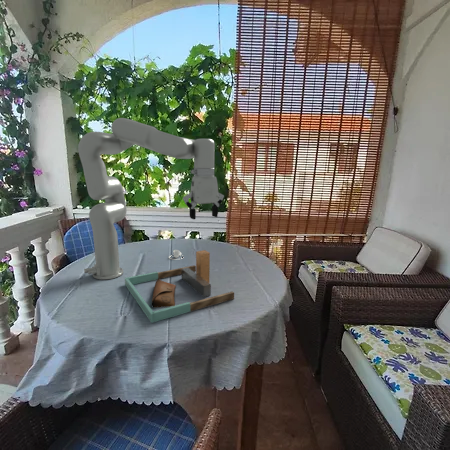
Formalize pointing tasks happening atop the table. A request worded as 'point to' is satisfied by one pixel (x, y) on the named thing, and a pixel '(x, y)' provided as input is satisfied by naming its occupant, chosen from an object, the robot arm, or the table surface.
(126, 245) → the table surface
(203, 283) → the plank and post
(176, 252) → the white looped piece
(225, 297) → the channel
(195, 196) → the robot arm
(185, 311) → the tray
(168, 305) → the sunglasses case
